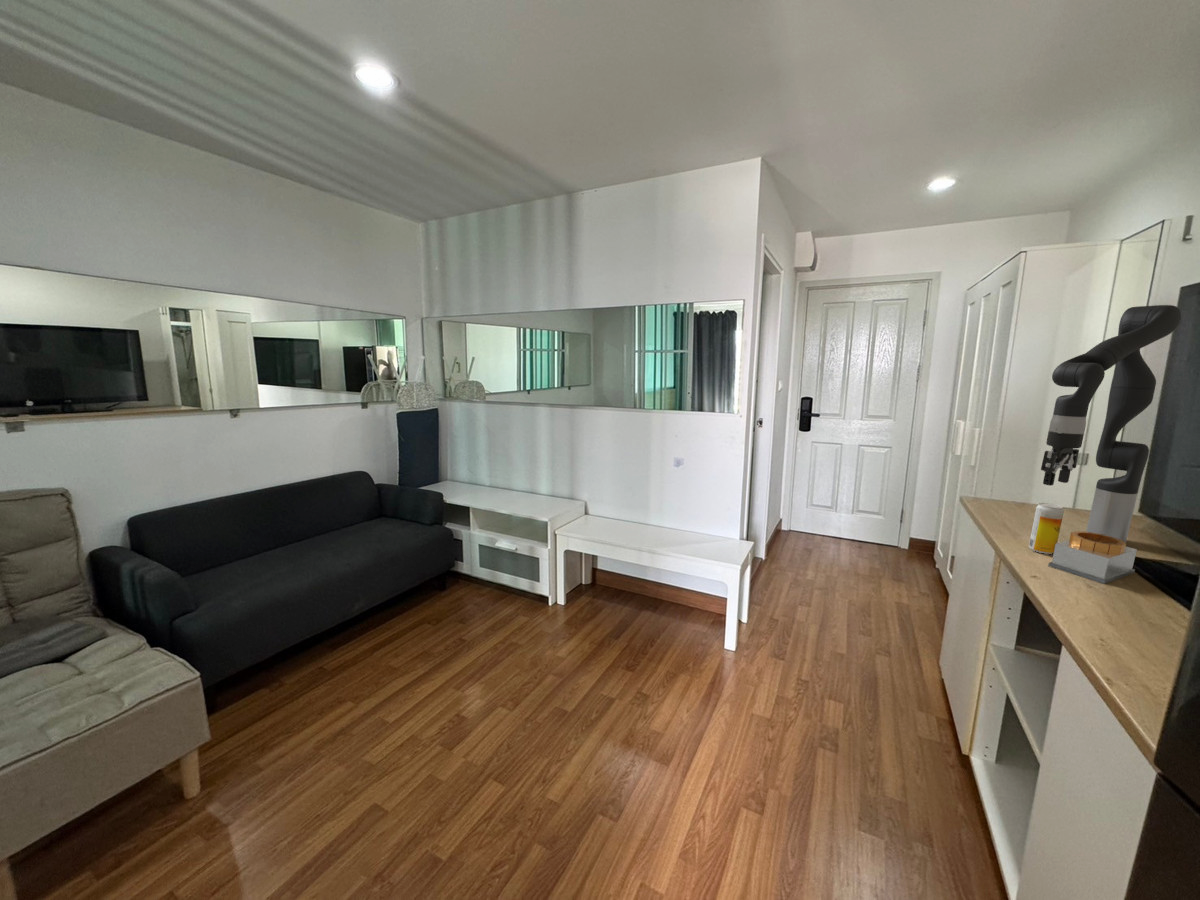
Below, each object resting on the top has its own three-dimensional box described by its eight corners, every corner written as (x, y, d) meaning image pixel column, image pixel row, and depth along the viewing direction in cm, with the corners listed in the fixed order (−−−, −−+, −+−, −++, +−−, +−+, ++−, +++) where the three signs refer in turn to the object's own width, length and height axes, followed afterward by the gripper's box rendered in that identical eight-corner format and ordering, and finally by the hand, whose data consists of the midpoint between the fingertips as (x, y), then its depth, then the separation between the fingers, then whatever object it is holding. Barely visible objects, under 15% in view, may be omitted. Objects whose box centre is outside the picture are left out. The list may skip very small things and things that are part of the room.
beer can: (1060, 556, 141) (1070, 509, 138) (1036, 554, 142) (1046, 507, 139) (1045, 548, 147) (1054, 503, 144) (1023, 546, 148) (1032, 501, 145)
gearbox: (1084, 554, 142) (1090, 525, 140) (1139, 570, 131) (1147, 539, 129) (1048, 566, 134) (1054, 535, 132) (1104, 583, 123) (1112, 550, 121)
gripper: (1062, 428, 143) (1052, 478, 146) (1037, 430, 138) (1027, 482, 141) (1095, 431, 136) (1083, 484, 139) (1070, 433, 131) (1059, 489, 134)
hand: (1055, 483), depth 140 cm, fingers open, 8 cm apart
